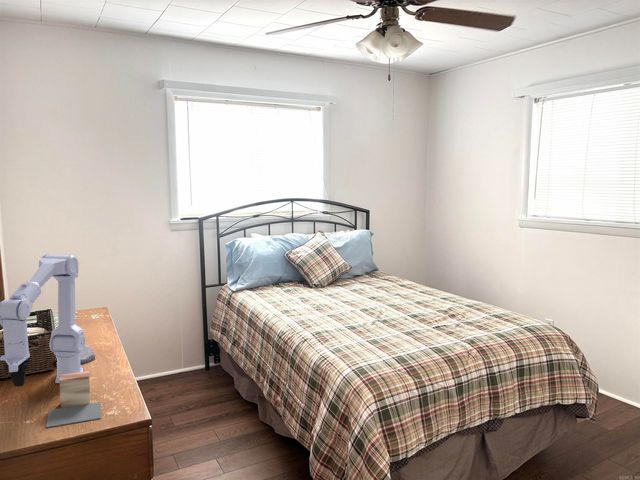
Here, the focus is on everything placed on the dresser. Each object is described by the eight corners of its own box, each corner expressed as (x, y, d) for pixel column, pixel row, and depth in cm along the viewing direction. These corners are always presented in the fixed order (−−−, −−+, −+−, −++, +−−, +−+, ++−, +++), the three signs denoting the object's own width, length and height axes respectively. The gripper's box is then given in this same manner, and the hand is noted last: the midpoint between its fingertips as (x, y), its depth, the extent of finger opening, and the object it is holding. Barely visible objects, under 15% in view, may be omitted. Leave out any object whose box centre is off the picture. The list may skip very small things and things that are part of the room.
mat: (49, 410, 143) (49, 409, 143) (100, 402, 148) (100, 401, 148) (45, 428, 134) (45, 427, 134) (100, 418, 139) (100, 417, 139)
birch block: (62, 402, 148) (60, 374, 146) (90, 397, 151) (89, 370, 150) (61, 408, 144) (59, 380, 143) (90, 403, 148) (88, 376, 146)
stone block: (98, 363, 181) (85, 351, 187) (98, 352, 179) (86, 340, 185) (65, 374, 172) (53, 361, 177) (65, 363, 170) (53, 350, 176)
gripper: (4, 333, 139) (7, 376, 141) (-6, 352, 126) (-3, 399, 128) (32, 330, 142) (34, 373, 144) (24, 348, 129) (28, 395, 131)
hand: (19, 385), depth 136 cm, fingers closed
